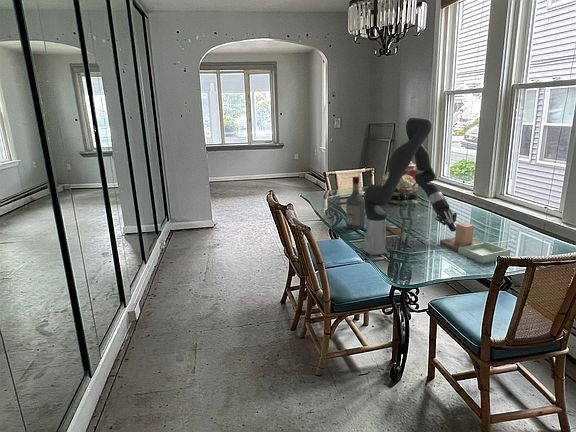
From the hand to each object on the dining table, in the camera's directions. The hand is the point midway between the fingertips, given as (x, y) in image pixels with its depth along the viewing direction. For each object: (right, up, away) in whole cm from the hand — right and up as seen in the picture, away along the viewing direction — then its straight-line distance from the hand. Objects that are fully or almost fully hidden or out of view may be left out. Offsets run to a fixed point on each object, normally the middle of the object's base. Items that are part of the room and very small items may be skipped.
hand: (453, 230), depth 193 cm
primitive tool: (-26, -1, +25) cm, 36 cm away
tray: (+7, -11, -15) cm, 20 cm away
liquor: (-44, +1, +32) cm, 55 cm away
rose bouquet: (0, +18, +88) cm, 89 cm away
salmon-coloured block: (+2, -5, -5) cm, 8 cm away
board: (+2, -7, -3) cm, 8 cm away
